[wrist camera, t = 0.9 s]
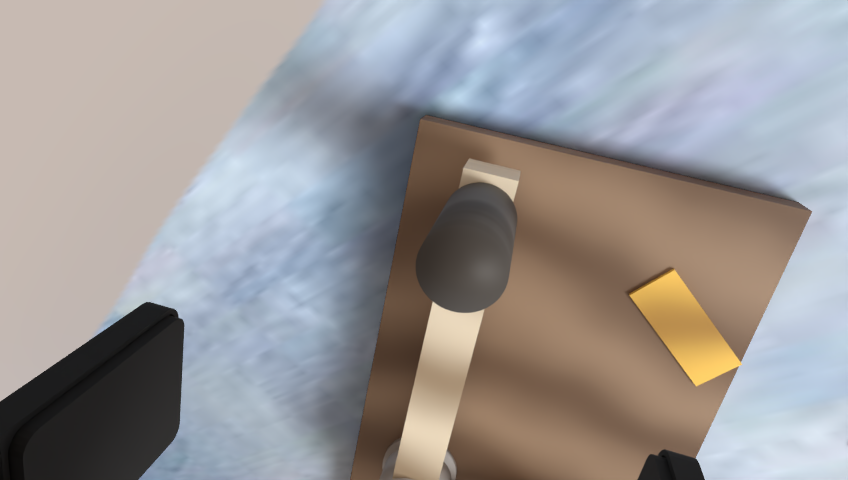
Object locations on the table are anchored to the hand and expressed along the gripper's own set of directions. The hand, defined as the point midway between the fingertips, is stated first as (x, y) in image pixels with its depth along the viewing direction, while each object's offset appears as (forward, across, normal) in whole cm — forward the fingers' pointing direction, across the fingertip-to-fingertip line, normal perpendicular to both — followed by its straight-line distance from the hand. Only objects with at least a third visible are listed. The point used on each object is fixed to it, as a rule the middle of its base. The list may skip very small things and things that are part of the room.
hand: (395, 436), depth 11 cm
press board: (+20, -5, +10) cm, 23 cm away
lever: (+17, 0, +9) cm, 20 cm away
